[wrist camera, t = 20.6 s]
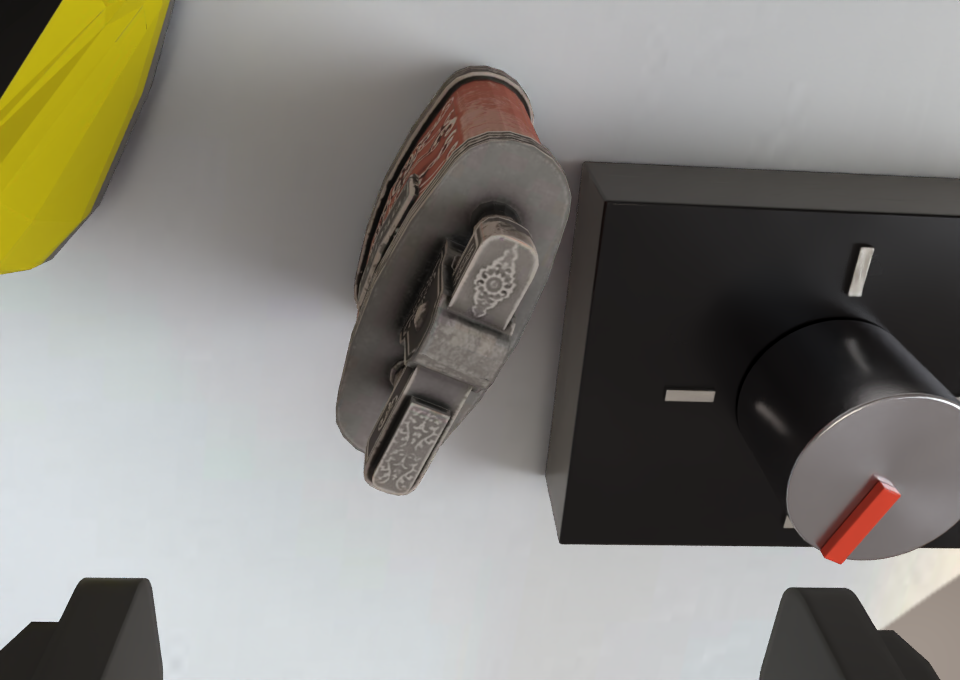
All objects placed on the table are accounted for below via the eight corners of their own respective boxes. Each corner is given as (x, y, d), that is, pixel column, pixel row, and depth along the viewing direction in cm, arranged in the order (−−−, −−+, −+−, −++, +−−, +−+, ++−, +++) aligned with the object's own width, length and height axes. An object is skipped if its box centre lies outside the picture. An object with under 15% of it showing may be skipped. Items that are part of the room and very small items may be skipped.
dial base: (1048, 182, 27) (1134, 225, 23) (937, 483, 32) (996, 553, 29) (582, 160, 26) (606, 203, 22) (544, 477, 31) (559, 549, 27)
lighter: (445, 42, 24) (462, 146, 15) (557, 97, 25) (636, 226, 16) (331, 294, 27) (290, 502, 18) (434, 336, 28) (442, 554, 19)
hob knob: (806, 290, 24) (879, 370, 20) (948, 361, 25) (1042, 448, 21) (702, 433, 26) (751, 530, 22) (838, 491, 27) (907, 593, 23)
